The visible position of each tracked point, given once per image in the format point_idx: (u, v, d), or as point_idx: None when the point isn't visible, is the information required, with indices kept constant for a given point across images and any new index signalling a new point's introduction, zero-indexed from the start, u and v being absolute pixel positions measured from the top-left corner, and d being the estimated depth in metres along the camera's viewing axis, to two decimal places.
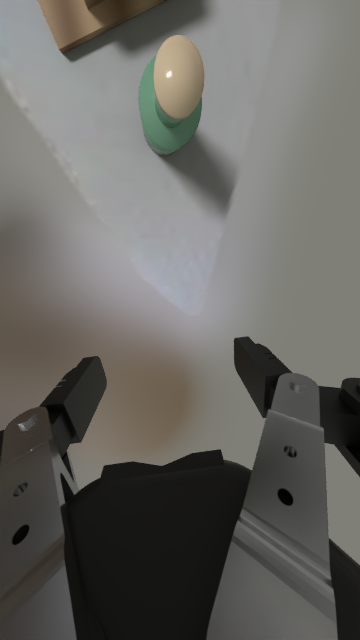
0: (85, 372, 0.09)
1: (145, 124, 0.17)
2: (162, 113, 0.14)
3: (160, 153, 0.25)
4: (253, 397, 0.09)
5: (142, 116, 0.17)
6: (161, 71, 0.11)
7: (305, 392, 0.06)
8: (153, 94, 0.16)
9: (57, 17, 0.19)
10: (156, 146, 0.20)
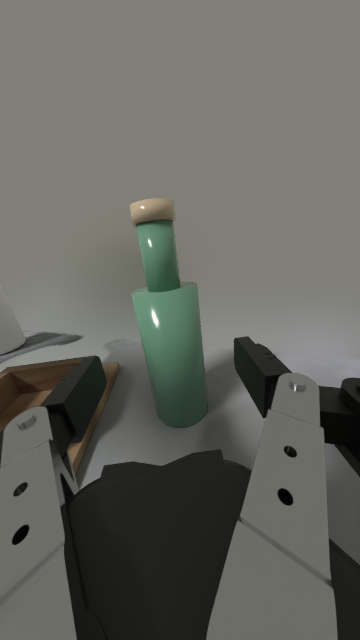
0: (85, 372, 0.09)
1: (169, 294, 0.13)
2: (166, 244, 0.13)
3: (203, 387, 0.18)
4: (253, 397, 0.09)
5: (162, 295, 0.13)
6: None
7: (305, 392, 0.06)
8: (151, 293, 0.14)
9: None
10: (193, 332, 0.15)
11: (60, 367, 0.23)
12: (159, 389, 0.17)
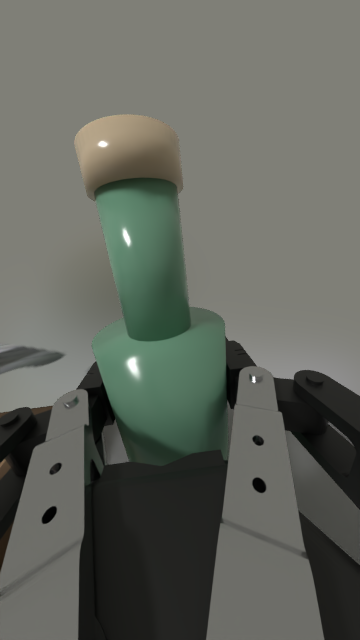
0: None
1: (169, 357, 0.06)
2: (162, 241, 0.06)
3: None
4: None
5: (152, 361, 0.06)
6: None
7: (260, 383, 0.07)
8: (131, 342, 0.07)
9: None
10: (217, 418, 0.07)
11: None
12: None
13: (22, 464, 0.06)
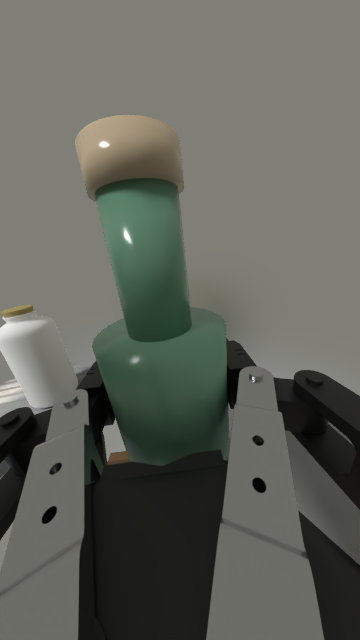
0: None
1: (170, 358, 0.06)
2: (163, 242, 0.06)
3: None
4: None
5: (153, 362, 0.06)
6: None
7: (260, 383, 0.07)
8: (132, 343, 0.07)
9: None
10: (218, 419, 0.07)
11: None
12: None
13: (22, 464, 0.06)
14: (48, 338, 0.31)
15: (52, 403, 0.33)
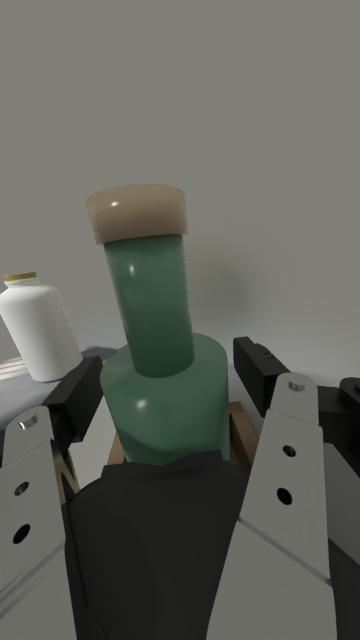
0: (86, 372, 0.09)
1: (175, 400, 0.06)
2: (168, 289, 0.06)
3: None
4: (252, 397, 0.09)
5: (159, 404, 0.06)
6: None
7: (304, 392, 0.06)
8: (138, 378, 0.07)
9: None
10: (219, 448, 0.08)
11: None
12: None
13: None
14: (53, 306, 0.29)
15: (56, 376, 0.31)
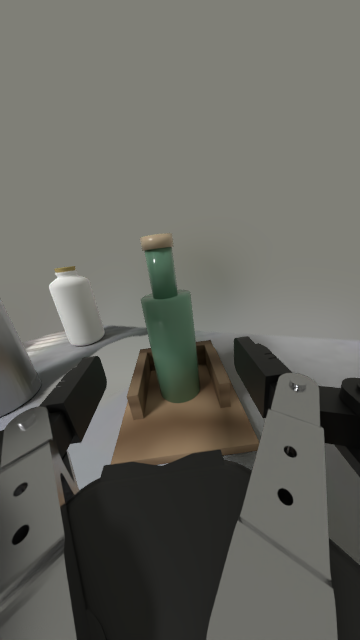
0: (85, 372, 0.09)
1: (169, 301, 0.18)
2: (166, 265, 0.18)
3: (196, 371, 0.23)
4: (253, 397, 0.09)
5: (164, 302, 0.18)
6: None
7: (305, 392, 0.06)
8: (155, 299, 0.19)
9: (237, 433, 0.18)
10: (187, 328, 0.20)
11: None
12: (161, 372, 0.22)
13: None
14: (87, 290, 0.41)
15: (88, 341, 0.43)
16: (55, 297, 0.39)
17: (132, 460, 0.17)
